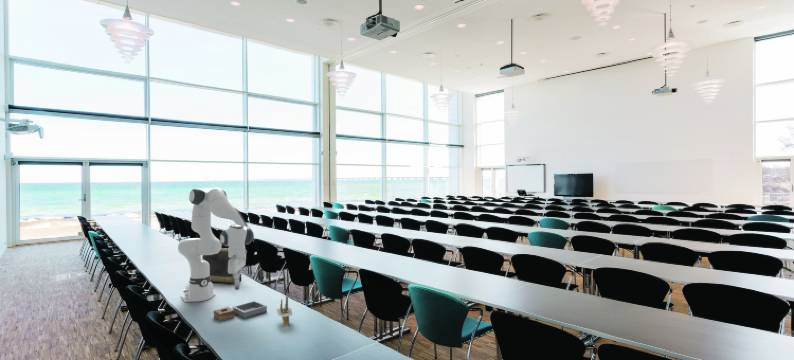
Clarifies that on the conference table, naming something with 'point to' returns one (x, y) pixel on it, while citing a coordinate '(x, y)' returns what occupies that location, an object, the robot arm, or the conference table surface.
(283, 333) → the conference table surface
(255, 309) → the gray tray
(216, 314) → the block
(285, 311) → the architectural model
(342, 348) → the conference table surface
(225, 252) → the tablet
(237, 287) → the pin
